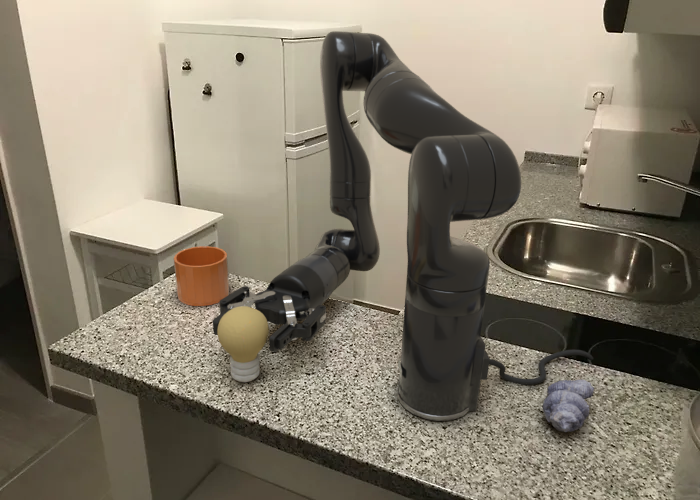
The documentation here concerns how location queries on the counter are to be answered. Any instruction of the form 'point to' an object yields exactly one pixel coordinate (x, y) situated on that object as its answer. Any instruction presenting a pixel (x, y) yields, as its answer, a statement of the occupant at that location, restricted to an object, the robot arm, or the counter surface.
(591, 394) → the seashell
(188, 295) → the flower pot
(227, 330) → the light bulb
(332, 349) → the counter surface
